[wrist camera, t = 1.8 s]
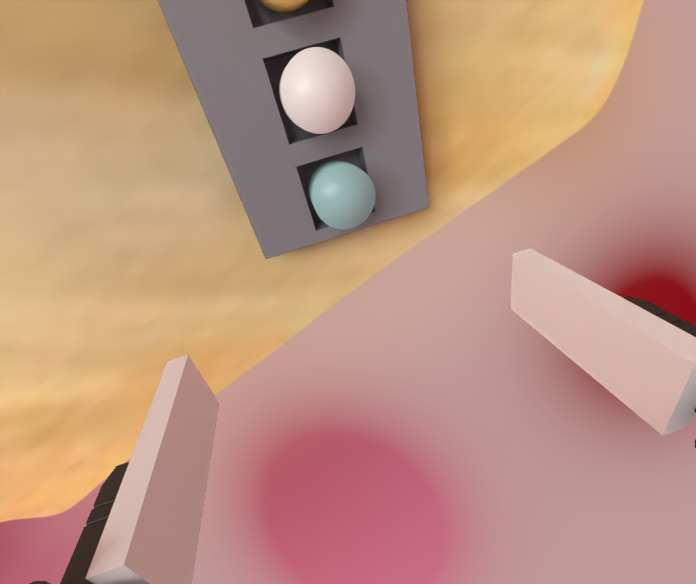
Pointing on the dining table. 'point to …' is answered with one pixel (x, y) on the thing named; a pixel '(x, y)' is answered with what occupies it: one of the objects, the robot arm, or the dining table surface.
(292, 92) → the button white
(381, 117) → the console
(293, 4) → the button ochre
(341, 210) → the button teal
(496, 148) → the dining table surface
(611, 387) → the robot arm
